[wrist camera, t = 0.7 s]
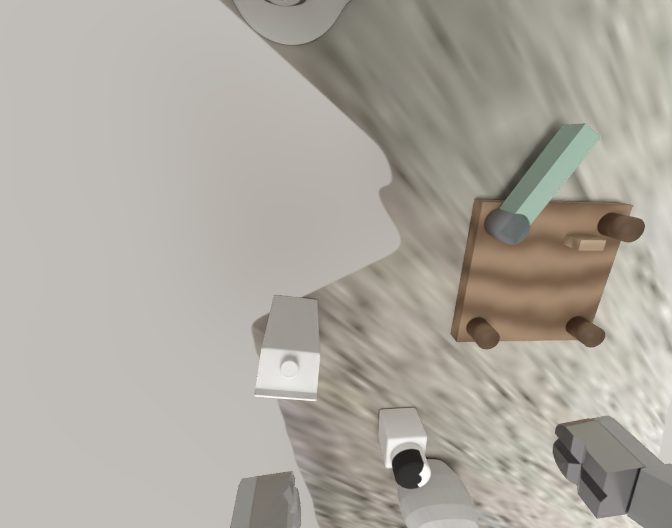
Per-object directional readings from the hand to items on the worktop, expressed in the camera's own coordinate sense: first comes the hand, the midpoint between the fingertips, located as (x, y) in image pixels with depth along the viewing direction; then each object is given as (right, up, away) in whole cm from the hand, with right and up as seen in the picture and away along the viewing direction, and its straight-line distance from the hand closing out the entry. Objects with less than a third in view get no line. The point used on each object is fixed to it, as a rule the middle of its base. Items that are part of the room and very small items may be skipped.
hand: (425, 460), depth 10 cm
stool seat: (+30, +5, +46) cm, 55 cm away
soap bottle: (+16, -37, +60) cm, 73 cm away
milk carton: (-10, -3, +45) cm, 46 cm away
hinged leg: (+25, +17, +37) cm, 48 cm away
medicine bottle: (+9, -25, +55) cm, 61 cm away
